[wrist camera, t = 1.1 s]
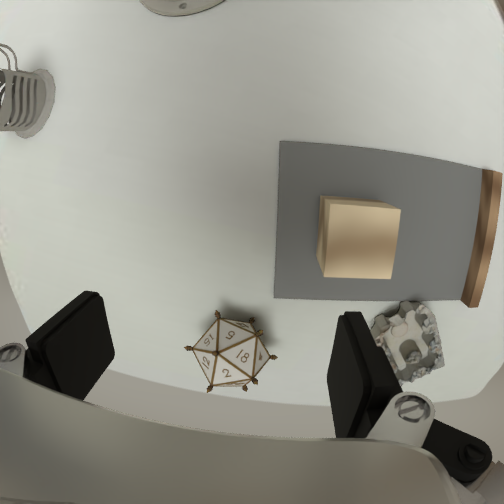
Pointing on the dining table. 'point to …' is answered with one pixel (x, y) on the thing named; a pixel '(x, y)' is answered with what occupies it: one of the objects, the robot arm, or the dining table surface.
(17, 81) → the french press
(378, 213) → the block
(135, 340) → the dining table surface
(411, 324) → the carved stone fragment
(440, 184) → the grey rectangular board
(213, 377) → the game die
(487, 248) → the rail
